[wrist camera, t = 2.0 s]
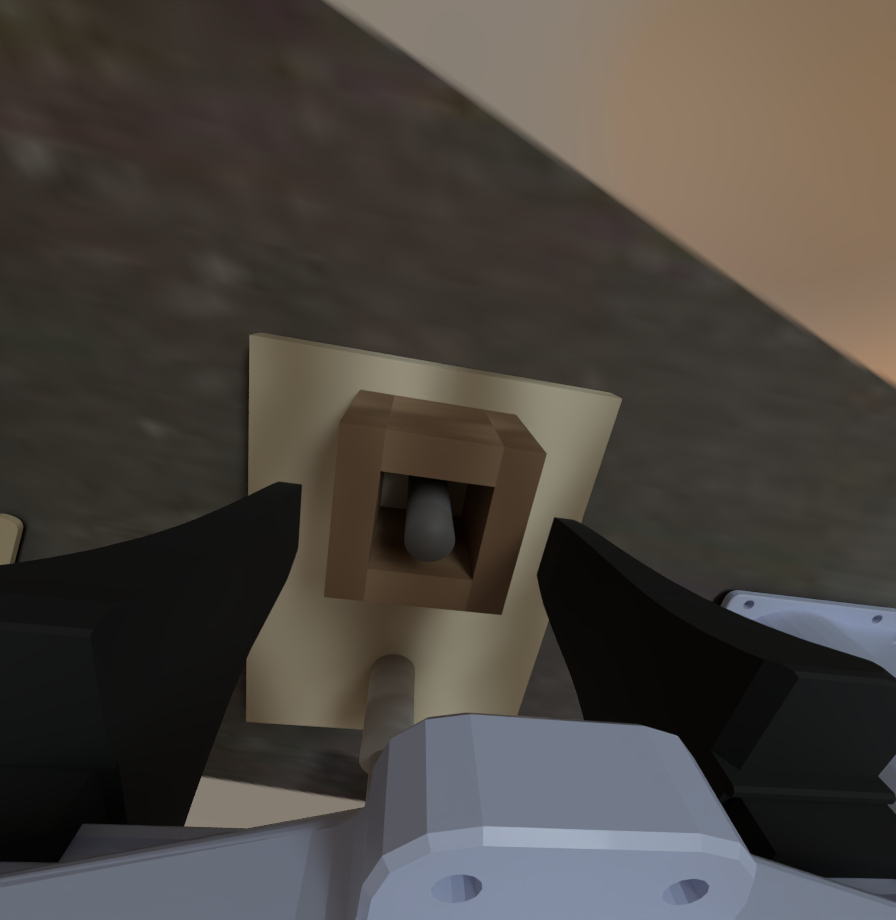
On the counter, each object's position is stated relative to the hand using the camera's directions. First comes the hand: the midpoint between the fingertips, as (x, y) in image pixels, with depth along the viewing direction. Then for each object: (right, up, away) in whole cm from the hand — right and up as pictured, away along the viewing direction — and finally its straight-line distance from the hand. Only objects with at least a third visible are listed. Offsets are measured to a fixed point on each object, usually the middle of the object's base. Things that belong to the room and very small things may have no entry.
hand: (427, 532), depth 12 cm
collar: (0, +2, +4) cm, 4 cm away
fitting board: (-1, -3, +7) cm, 7 cm away
